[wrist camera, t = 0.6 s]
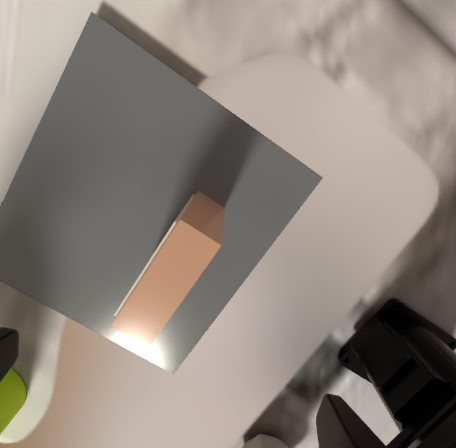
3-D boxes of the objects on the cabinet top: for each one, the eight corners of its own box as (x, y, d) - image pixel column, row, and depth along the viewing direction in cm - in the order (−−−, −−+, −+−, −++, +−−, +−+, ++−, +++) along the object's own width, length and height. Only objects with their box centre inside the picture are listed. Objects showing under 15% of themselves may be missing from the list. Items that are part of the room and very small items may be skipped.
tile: (224, 207, 19) (221, 245, 12) (176, 278, 20) (149, 347, 14) (196, 189, 19) (177, 217, 12) (149, 261, 20) (107, 324, 13)
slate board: (319, 176, 19) (322, 177, 18) (175, 366, 23) (173, 374, 22) (98, 17, 17) (91, 11, 16) (-18, 261, 21) (-28, 265, 20)
